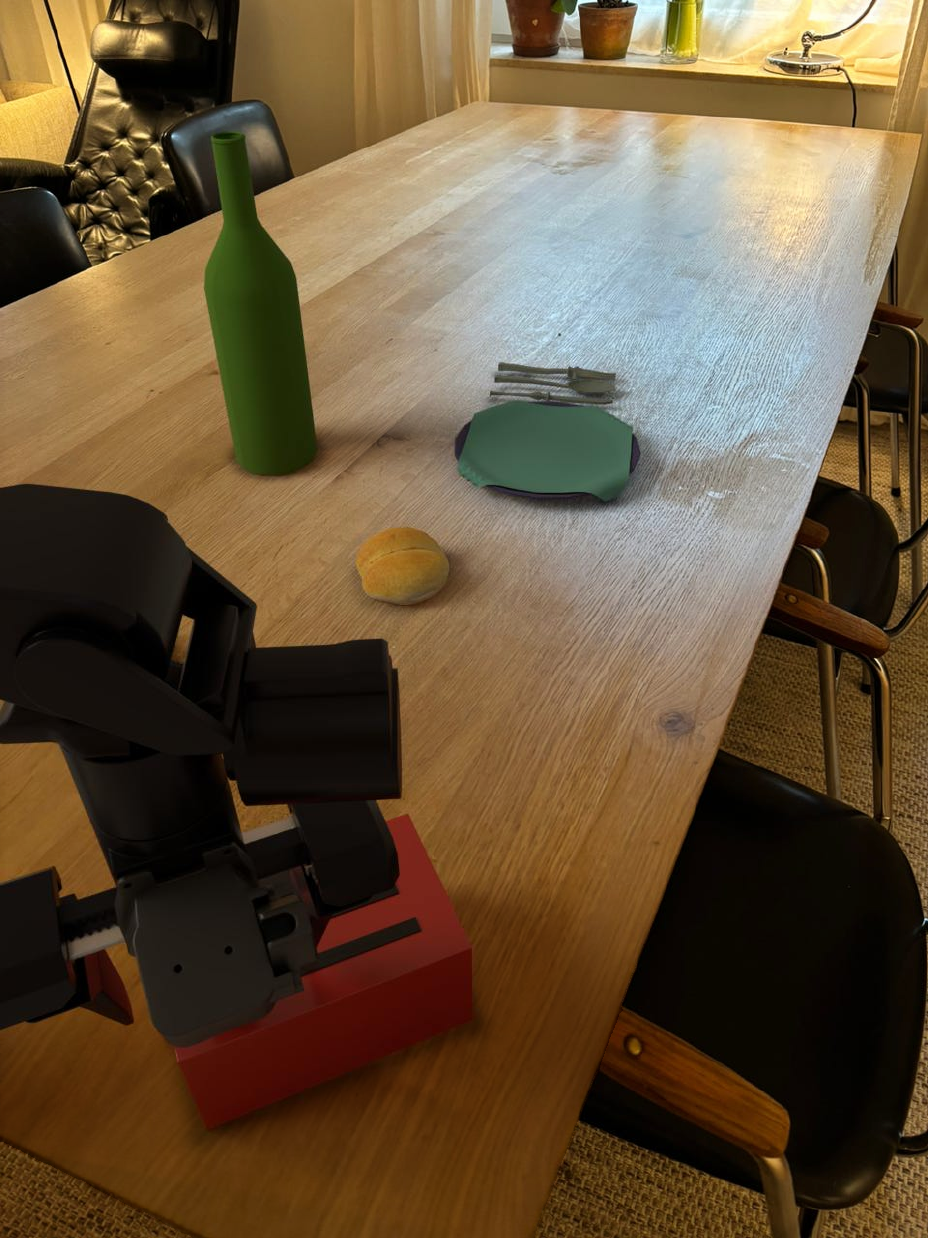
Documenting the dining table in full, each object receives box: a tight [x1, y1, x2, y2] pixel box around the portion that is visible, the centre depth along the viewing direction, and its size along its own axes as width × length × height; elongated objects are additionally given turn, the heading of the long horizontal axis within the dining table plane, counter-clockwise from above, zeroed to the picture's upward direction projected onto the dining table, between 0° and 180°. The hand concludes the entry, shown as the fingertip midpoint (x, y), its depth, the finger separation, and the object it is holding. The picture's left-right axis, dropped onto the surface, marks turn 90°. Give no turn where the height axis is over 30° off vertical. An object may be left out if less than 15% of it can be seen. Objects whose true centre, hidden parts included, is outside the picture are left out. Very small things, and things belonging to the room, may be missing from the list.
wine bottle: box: [203, 130, 318, 477], centre depth 98 cm, size 9×9×32 cm
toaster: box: [173, 813, 474, 1131], centre depth 58 cm, size 16×10×8 cm, turn 113°
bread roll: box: [355, 526, 450, 606], centre depth 90 cm, size 8×9×4 cm
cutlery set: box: [454, 361, 642, 503], centre depth 110 cm, size 20×30×2 cm, turn 170°
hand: (220, 982), depth 51 cm, fingers open, 9 cm apart
